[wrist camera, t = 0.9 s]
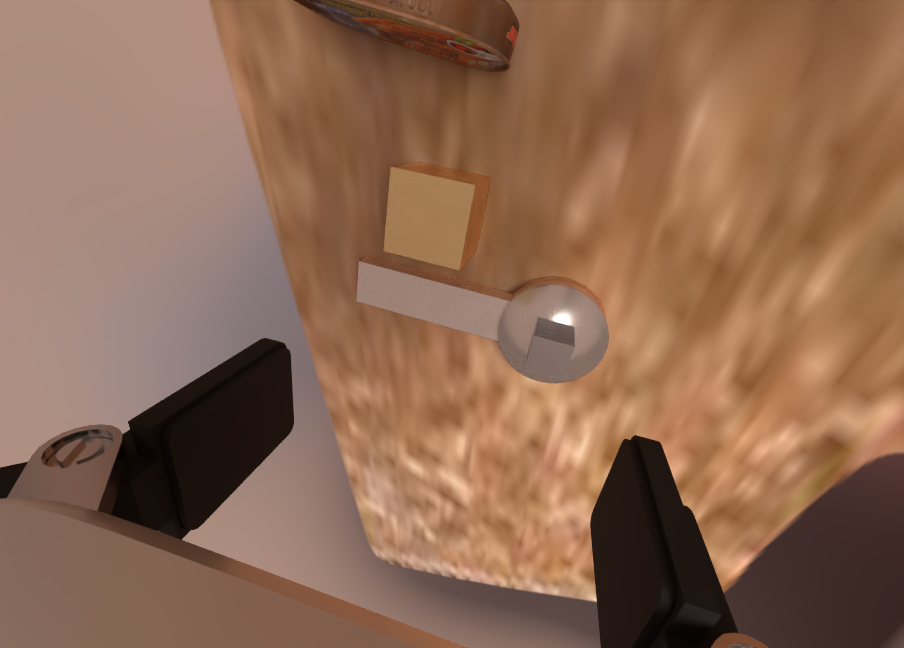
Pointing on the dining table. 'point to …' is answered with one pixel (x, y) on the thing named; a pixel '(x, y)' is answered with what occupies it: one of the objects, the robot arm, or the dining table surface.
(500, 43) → the tin
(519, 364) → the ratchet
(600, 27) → the dining table surface
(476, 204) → the tan wooden cube
